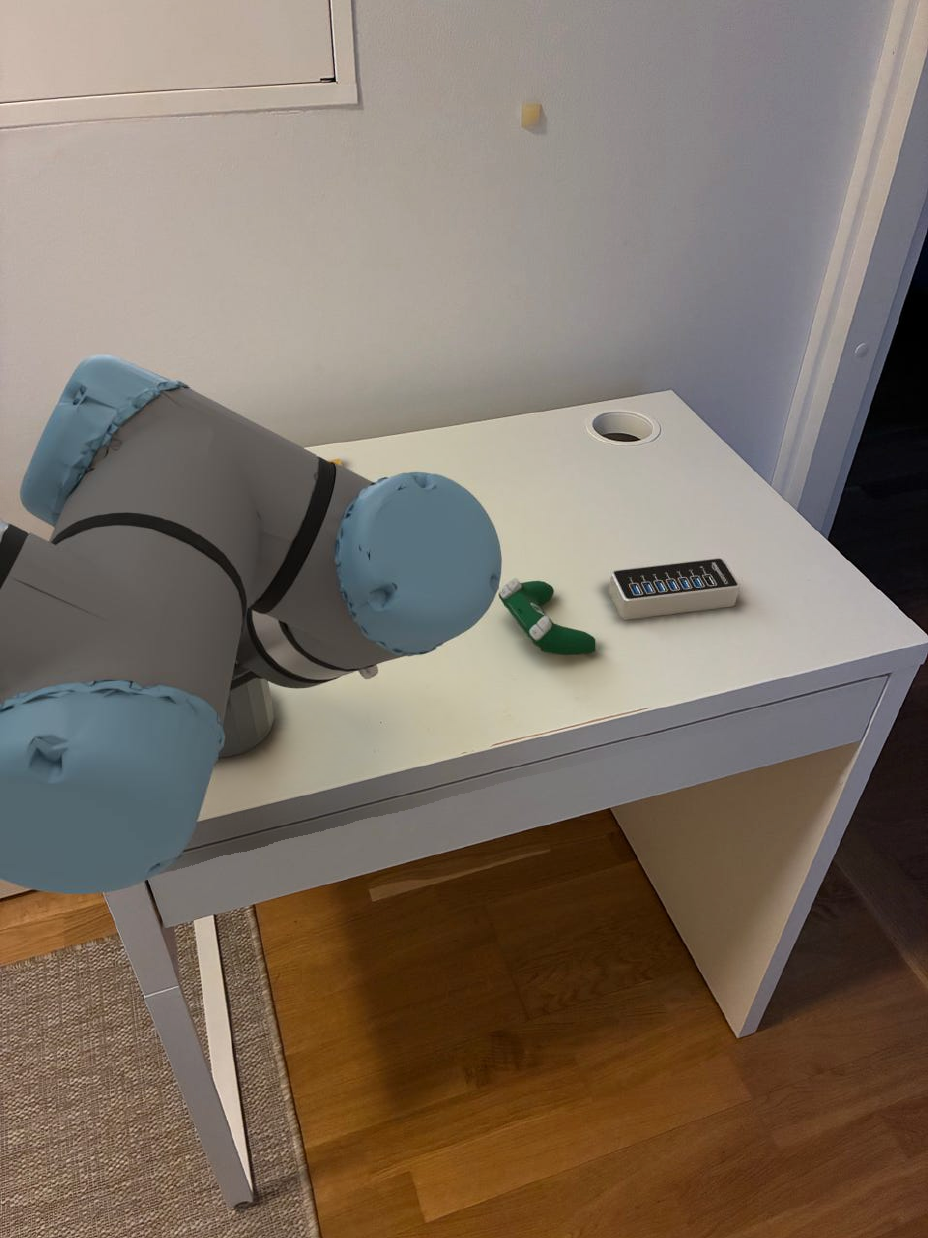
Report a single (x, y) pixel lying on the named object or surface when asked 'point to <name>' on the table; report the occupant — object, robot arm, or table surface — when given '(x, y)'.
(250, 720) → the steel tumbler
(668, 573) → the multiport hub
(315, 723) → the table surface
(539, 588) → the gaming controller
